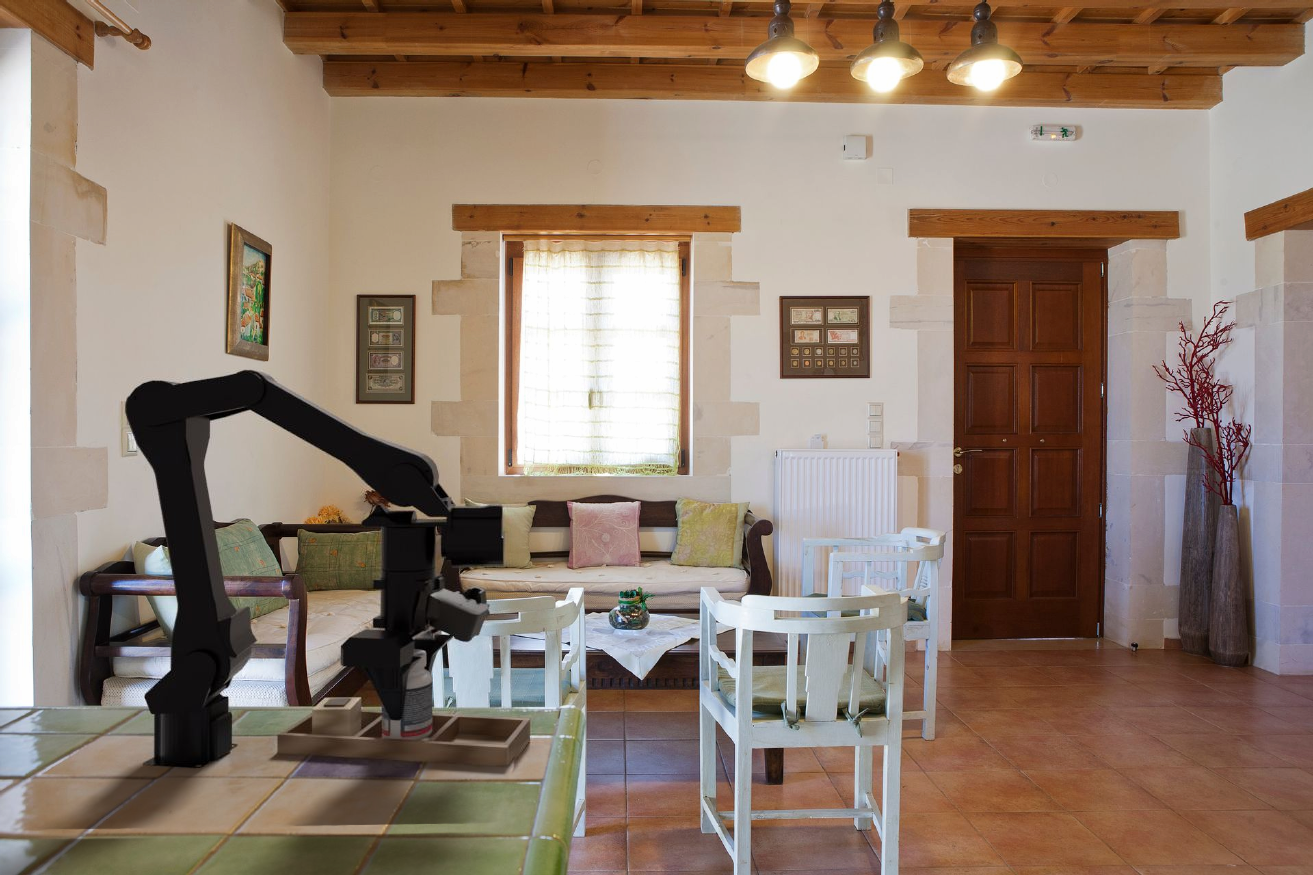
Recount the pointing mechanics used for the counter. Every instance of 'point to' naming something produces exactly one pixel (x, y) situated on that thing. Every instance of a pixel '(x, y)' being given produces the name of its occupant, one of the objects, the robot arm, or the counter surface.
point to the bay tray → (446, 743)
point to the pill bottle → (413, 706)
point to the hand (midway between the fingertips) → (406, 711)
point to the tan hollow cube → (337, 717)
